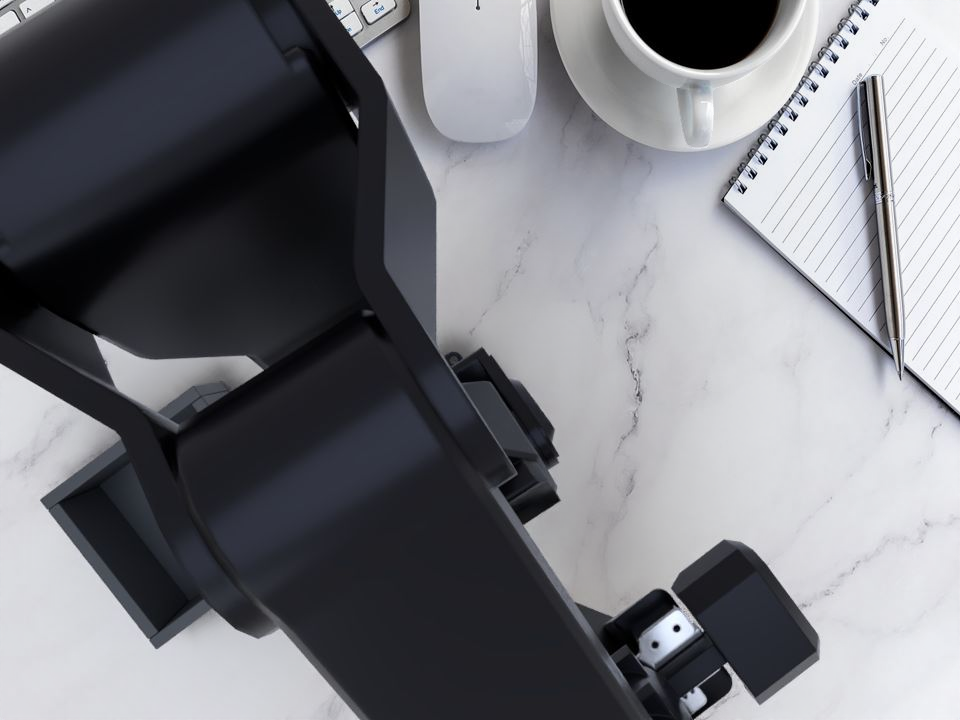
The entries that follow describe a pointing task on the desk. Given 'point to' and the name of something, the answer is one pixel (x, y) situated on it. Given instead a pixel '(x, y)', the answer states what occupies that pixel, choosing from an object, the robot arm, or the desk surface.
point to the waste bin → (132, 532)
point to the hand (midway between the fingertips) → (584, 650)
